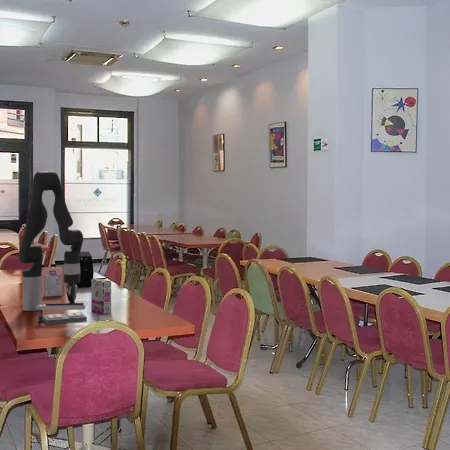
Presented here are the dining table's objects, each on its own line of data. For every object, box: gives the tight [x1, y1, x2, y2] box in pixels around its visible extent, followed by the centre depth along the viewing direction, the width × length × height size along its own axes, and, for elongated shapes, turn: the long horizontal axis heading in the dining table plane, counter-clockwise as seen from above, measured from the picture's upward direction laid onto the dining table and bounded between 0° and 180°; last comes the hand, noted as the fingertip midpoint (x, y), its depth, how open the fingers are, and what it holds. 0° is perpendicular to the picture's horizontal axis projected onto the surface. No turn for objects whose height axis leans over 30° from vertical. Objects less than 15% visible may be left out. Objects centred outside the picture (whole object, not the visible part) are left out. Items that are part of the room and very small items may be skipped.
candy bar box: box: [90, 278, 112, 315], centre depth 297 cm, size 11×5×16 cm, turn 45°
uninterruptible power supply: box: [76, 251, 95, 289], centre depth 389 cm, size 16×34×20 cm, turn 16°
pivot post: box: [37, 310, 44, 324], centre depth 274 cm, size 2×2×6 cm
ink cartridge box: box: [43, 270, 63, 297], centre depth 346 cm, size 10×6×14 cm, turn 114°
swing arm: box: [37, 302, 86, 311], centre depth 274 cm, size 22×3×3 cm, turn 96°
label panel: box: [43, 311, 88, 326], centre depth 278 cm, size 12×18×3 cm, turn 116°
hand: (72, 309), depth 279 cm, fingers closed
